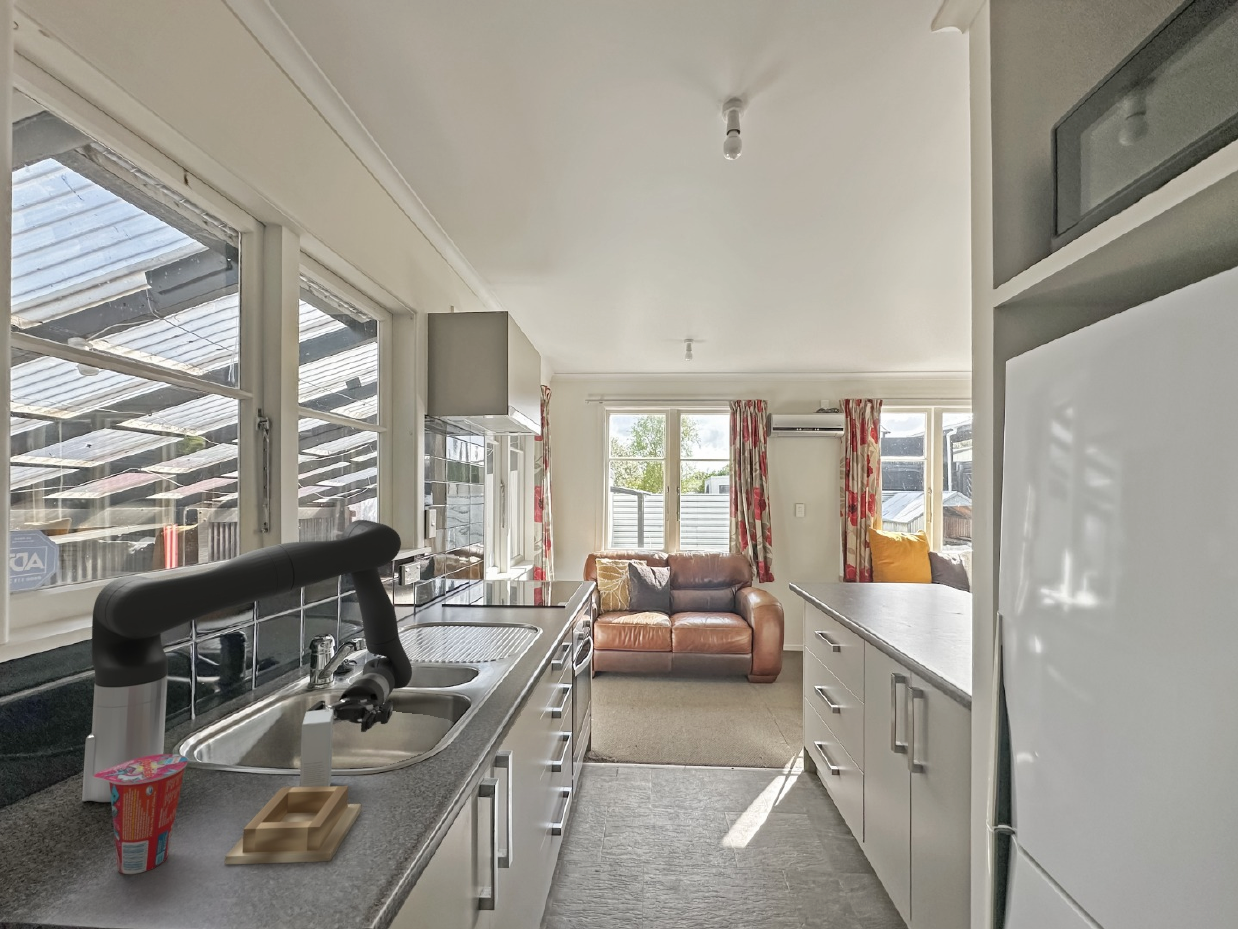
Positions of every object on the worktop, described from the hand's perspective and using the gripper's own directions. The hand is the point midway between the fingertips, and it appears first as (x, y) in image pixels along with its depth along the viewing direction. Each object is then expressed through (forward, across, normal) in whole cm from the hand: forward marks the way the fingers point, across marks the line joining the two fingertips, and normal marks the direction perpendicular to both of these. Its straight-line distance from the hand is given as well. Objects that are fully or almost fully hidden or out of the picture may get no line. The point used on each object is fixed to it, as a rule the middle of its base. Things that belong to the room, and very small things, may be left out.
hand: (338, 726), depth 111 cm
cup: (+28, -15, +7) cm, 33 cm away
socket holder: (+23, +2, +7) cm, 24 cm away
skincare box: (+10, 0, +7) cm, 12 cm away
